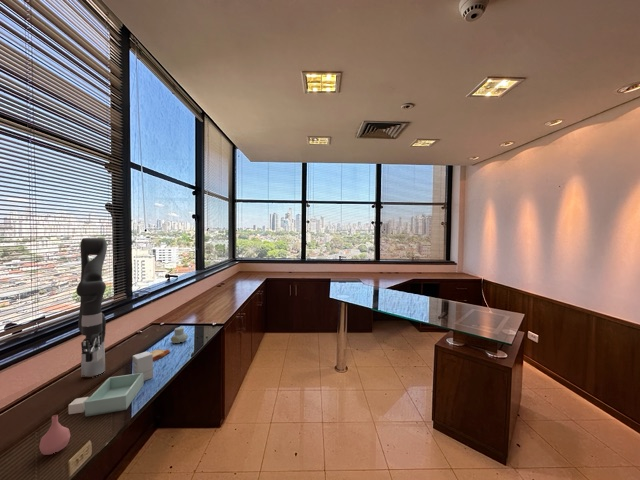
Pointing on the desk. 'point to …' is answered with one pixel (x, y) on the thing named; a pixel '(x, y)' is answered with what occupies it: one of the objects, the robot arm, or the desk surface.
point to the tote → (114, 394)
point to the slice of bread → (159, 354)
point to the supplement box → (143, 364)
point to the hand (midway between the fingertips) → (92, 358)
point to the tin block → (94, 355)
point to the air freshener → (179, 335)
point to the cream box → (77, 405)
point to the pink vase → (54, 438)
